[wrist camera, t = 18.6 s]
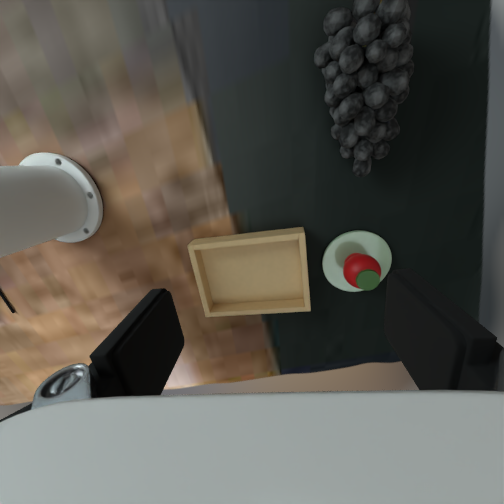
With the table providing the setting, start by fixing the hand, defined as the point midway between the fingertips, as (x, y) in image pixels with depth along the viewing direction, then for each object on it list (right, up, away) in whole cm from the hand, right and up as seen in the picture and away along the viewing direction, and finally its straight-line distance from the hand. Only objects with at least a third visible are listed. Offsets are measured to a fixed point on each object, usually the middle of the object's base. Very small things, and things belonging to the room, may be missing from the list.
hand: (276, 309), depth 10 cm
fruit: (+10, +19, +17) cm, 27 cm away
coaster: (+13, +1, +23) cm, 26 cm away
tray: (-1, 0, +25) cm, 25 cm away
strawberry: (+13, +1, +22) cm, 26 cm away
